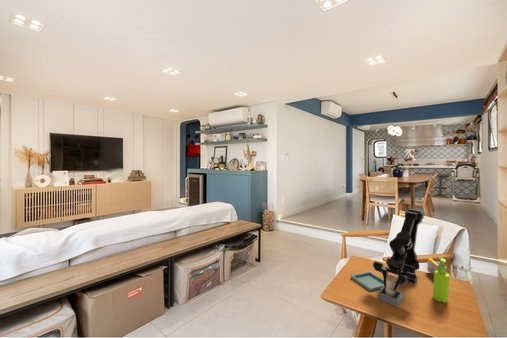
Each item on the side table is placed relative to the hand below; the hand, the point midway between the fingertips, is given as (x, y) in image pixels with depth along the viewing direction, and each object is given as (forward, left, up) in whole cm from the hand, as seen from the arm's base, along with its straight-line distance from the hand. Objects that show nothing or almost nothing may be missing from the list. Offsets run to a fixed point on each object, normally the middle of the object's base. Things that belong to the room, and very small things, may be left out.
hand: (389, 288), depth 115 cm
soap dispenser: (-26, +6, -7) cm, 28 cm away
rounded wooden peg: (-1, -1, -6) cm, 6 cm away
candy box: (-45, -8, -7) cm, 46 cm away
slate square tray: (-1, -1, -7) cm, 7 cm away
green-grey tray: (-4, -16, -7) cm, 17 cm away
